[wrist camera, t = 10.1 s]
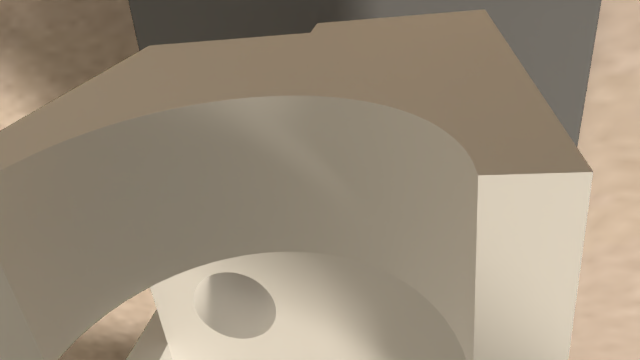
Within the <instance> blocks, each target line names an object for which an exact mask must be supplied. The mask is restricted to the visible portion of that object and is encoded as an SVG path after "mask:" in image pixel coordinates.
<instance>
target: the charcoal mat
mask: <svg viewBox="0 0 640 360" xmlns="http://www.w3.org/2000/svg"><path fill="white" fill-rule="evenodd" d="M129 5H130V10H131V14H132V19H133V23H134V28H135V32H136V37H137V41H138V46H139V51H141V50H142V49H144V48H146V47H148V46H150V45H163V44H175V43H188V42H200V41H213V40H225V39H238V38H251V37H263V36H276V35H288V34H301V33H310V32H311V31H312V30H313V28H314V27H315V26H316V24H317V23H326V22H338V21H350V20H362V19H375V18H387V17H399V16H411V15H423V14H435V13H447V12H459V11H471V10H483V9H485V10H486V12H487V13H488V15H489V16H490V18H491V19H492V21H493V22H494V24H495V25H496V27H497V28H498V30H499V31H500V33H501V34H502V36H503V37H504V39H505V40H506V42H507V43H508V45H509V46H510V48H511V49H512V51H513V52H514V54H515V55H516V57H517V58H518V60H519V61H520V63H521V64H522V66H523V67H524V69H525V70H526V72H527V73H528V75H529V76H530V78H531V79H532V81H533V82H534V84H535V85H536V87H537V88H538V90H539V91H540V93H541V94H542V96H543V97H544V99H545V100H546V102H547V103H548V105H549V106H550V108H551V109H552V111H553V112H554V114H555V115H556V117H557V118H558V120H559V121H560V123H561V124H562V126H563V127H564V129H565V130H566V132H567V133H568V135H569V136H570V138H571V139H572V141H573V142H574V144H575V145H576V147H577V145H578V139H579V133H580V127H581V121H582V115H583V109H584V103H585V97H586V91H587V85H588V78H589V72H590V66H591V60H592V54H593V48H594V42H595V36H596V30H597V24H598V18H599V12H600V6H601V0H129Z"/></svg>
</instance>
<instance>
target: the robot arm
mask: <svg viewBox="0 0 640 360" xmlns="http://www.w3.org/2000/svg"><path fill="white" fill-rule="evenodd" d="M126 360H173V359H172V356H171V352H170V348H169V344H168V343H167V340H166V337H165V334H164V331H163V327H162V324H161V321H160V318H159V315H158V311H157V309H156V311H155V313H154V314H153V316H152V318H151V319H150V321H149V323H148V324H147V326H146V327H145V329H144V331H143V332H142V334H141V336H140V337H139V339H138V341H137V342H136V344H135V345H134V347H133V349H132V350H131V352H130V354H129V355H128V357H127V359H126Z"/></svg>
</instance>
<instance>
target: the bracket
mask: <svg viewBox="0 0 640 360" xmlns="http://www.w3.org/2000/svg"><path fill="white" fill-rule="evenodd" d="M592 178H593V171H592V169H591V168H590V166H589V165H588V163H587V162H586V160H585V159H584V157H583V156H582V154H581V153H580V151H579V150H578V148H577V147H576V145H575V144H574V142H573V141H572V139H571V138H570V136H569V135H568V133H567V132H566V130H565V129H564V127H563V126H562V124H561V123H560V121H559V120H558V118H557V117H556V115H555V114H554V112H553V111H552V109H551V108H550V106H549V105H548V103H547V102H546V100H545V99H544V97H543V96H542V94H541V93H540V91H539V90H538V88H537V87H536V85H535V84H534V82H533V81H532V79H531V78H530V76H529V75H528V73H527V72H526V70H525V69H524V67H523V66H522V64H521V63H520V61H519V60H518V58H517V57H516V55H515V54H514V52H513V51H512V49H511V48H510V46H509V45H508V43H507V42H506V40H505V39H504V37H503V36H502V34H501V33H500V31H499V30H498V28H497V27H496V25H495V24H494V22H493V21H492V19H491V18H490V16H489V15H488V13H487V12H486V10H485V9H483V10H471V11H459V12H447V13H435V14H423V15H411V16H399V17H387V18H375V19H362V20H350V21H338V22H326V23H317V24H316V26H315V27H314V28H313V30H312V31H311V32H310V33H301V34H288V35H276V36H263V37H251V38H238V39H225V40H213V41H200V42H188V43H175V44H163V45H150V46H148V47H146V48H144V49H142V50H141V51H139V52H137V53H135V54H134V55H132V56H130V57H128V58H127V59H125V60H123V61H121V62H120V63H118V64H116V65H114V66H113V67H111V68H109V69H107V70H106V71H104V72H102V73H100V74H99V75H97V76H95V77H93V78H92V79H90V80H88V81H86V82H85V83H83V84H81V85H79V86H78V87H76V88H74V89H72V90H71V91H69V92H67V93H65V94H64V95H62V96H60V97H58V98H57V99H55V100H53V101H51V102H50V103H48V104H46V105H44V106H43V107H41V108H39V109H37V110H36V111H34V112H32V113H30V114H29V115H27V116H25V117H23V118H22V119H20V120H18V121H16V122H15V123H13V124H11V125H9V126H8V127H6V128H4V129H2V130H1V131H0V360H58V359H59V358H60V357H61V356H62V354H63V353H64V352H65V351H66V350H67V349H68V348H69V347H70V346H71V345H72V344H73V343H74V342H75V341H76V340H77V339H78V338H79V337H80V336H81V335H82V334H83V333H85V332H86V331H87V330H88V329H89V328H90V327H91V326H92V325H94V324H95V323H96V322H97V321H99V320H100V319H101V318H102V317H104V316H105V315H106V314H108V313H109V312H110V311H112V310H113V309H115V308H116V307H118V306H119V305H121V304H122V303H123V302H125V301H127V300H128V299H130V298H132V297H133V296H135V295H137V294H138V293H140V292H142V291H144V290H146V289H147V288H149V287H150V289H151V292H152V295H153V298H154V302H155V305H156V308H157V311H158V315H159V318H160V321H161V324H162V327H163V331H164V334H165V337H166V340H167V343H168V344H169V348H170V352H171V356H172V359H173V360H568V359H569V351H570V344H571V336H572V329H573V321H574V314H575V306H576V299H577V291H578V284H579V276H580V269H581V261H582V253H583V246H584V238H585V231H586V223H587V216H588V208H589V201H590V193H591V186H592Z"/></svg>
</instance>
